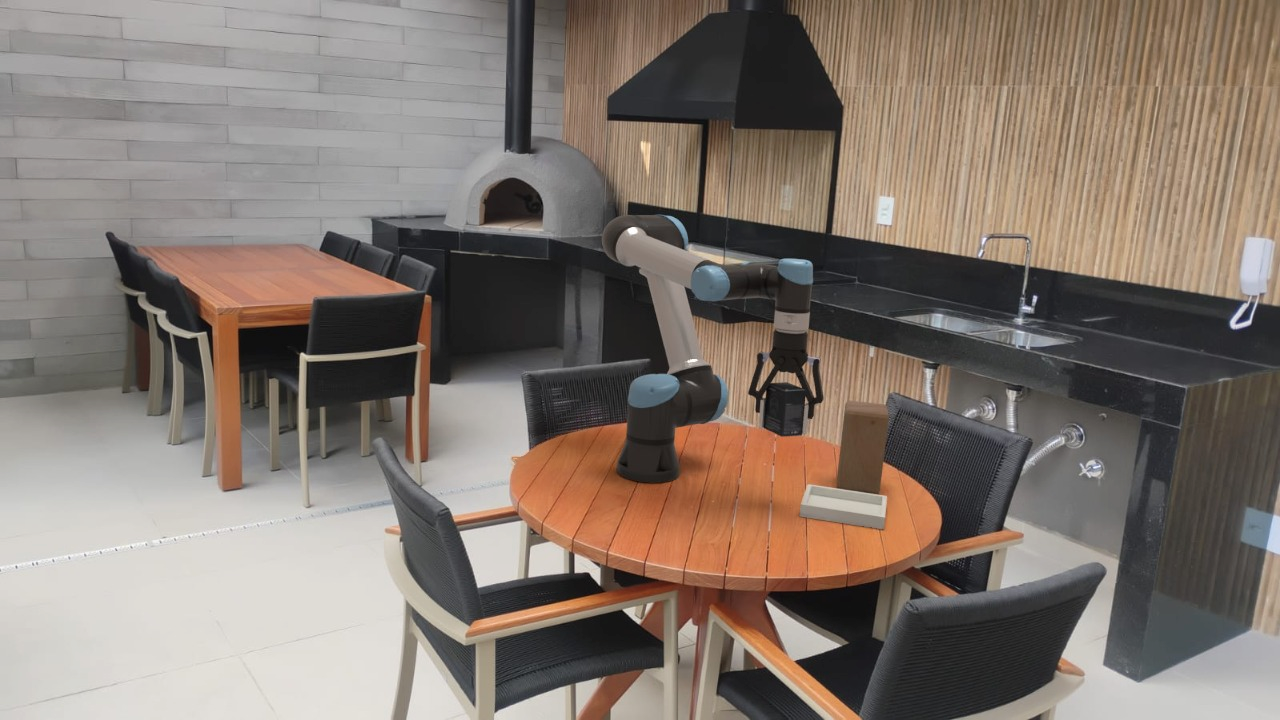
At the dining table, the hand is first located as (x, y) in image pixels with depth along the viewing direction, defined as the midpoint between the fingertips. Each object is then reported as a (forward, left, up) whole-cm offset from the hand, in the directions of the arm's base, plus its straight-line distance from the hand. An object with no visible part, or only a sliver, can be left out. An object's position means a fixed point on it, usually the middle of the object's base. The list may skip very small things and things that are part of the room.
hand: (783, 429), depth 220 cm
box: (0, 0, -1) cm, 1 cm away
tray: (+15, +1, -17) cm, 23 cm away
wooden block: (+17, +20, -17) cm, 31 cm away
